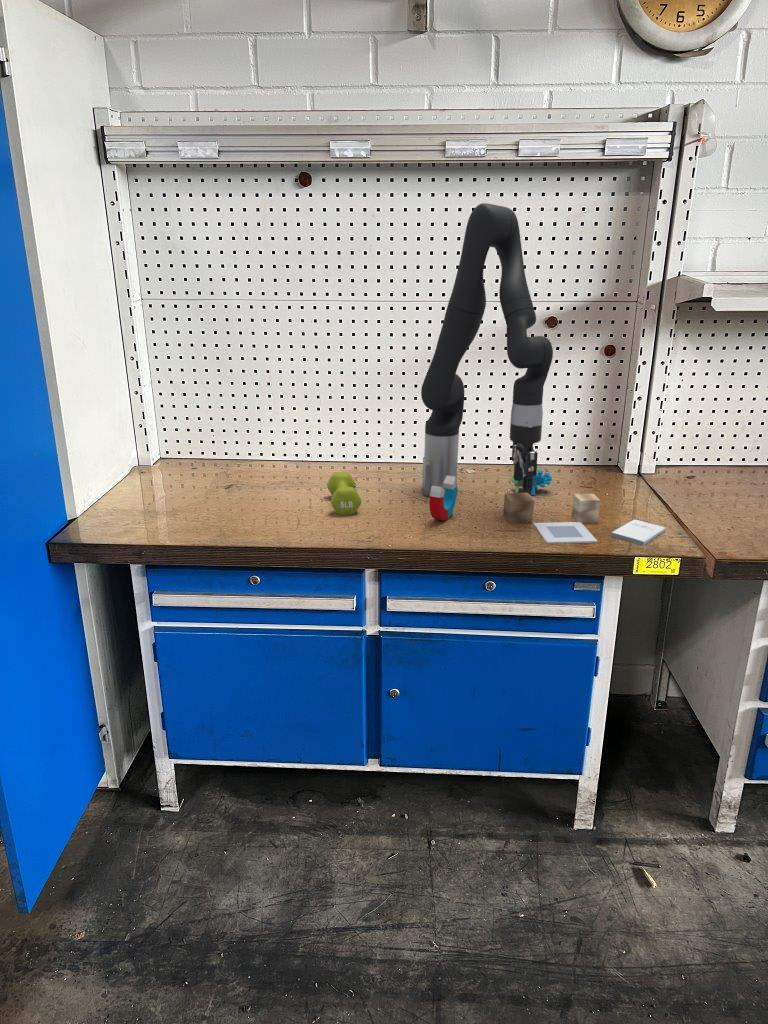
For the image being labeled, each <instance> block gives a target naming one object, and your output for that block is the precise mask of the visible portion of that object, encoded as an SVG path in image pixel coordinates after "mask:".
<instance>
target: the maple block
mask: <svg viewBox="0 0 768 1024" xmlns="http://www.w3.org/2000/svg"><path fill="white" fill-rule="evenodd" d="M600 504H601V500H600V499H599V498H598V497H597V496H596V495H595V494H594V493H574V494H573V501H572V510H571V517H572V518H573V519H574V521H575V522H581V523H582V524H589V523H591V524H596V523H598V521H599V515H600V513H599V512H600V507H601V506H600Z"/></svg>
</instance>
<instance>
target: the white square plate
mask: <svg viewBox="0 0 768 1024" xmlns="http://www.w3.org/2000/svg"><path fill="white" fill-rule="evenodd" d="M532 525H533V526H534V528H535V529H536V530H537V532H538V534H540V536H541V537H542V539H543V540H544V542H545V543H546V544H547V545H549V544H590V543H591V544H593V543H595V544H597V543H598V541H599V540H597V539H596V537H594V535H593V534H592V533H591V532H590V530H588V528H587V527H586V526H585V525H584V523H581V522H577V521H569V522H567V521H565V522H564V521H563V522H561V521H559V522H555V521H554V522H532Z"/></svg>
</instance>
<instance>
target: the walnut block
mask: <svg viewBox="0 0 768 1024" xmlns="http://www.w3.org/2000/svg"><path fill="white" fill-rule="evenodd" d="M503 497H504V498H503V499H504V500H503V511H502V515H503V517H504V519H505V520H506V522H507V523H508V524H533V519H534V508H535V500H534V499H533V497H532V495H531V494H530V493H528V492H518V493H516V492H505V493H504V496H503Z"/></svg>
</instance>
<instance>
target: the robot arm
mask: <svg viewBox="0 0 768 1024" xmlns="http://www.w3.org/2000/svg"><path fill="white" fill-rule="evenodd" d="M520 232H521V231H520V225H519V221H518V217H517V214H516V213H515V212H514V211H513V210H512V208H510V207H506V206H503V205H498V204H494V203H493V204H492V203H487V202H483V203H480V204H478V205H476V206H475V207H474V209H472V211H471V213H470V215H469V218H468V220H467V224H466V228H465V232H464V236H463V237H464V238H463V243H462V249H461V253H460V254H461V255H460V258H459V259H460V260H459V263H458V267H457V272H456V276H455V279H454V283H453V287H452V292H451V293H450V297H449V300H448V303H447V307H446V311H445V314H444V318H443V323H442V325H441V329H440V333H439V335H438V340H437V344H436V346H435V350H434V354H433V357H432V359H431V362H430V364H429V367H428V369H427V372H426V374H425V377H424V379H423V382H422V385H421V389H420V390H421V391H420V396H421V400H422V403H423V405H424V406H425V407H426V408H427V409H428V410H431V415H430V416H429V418H427V420H426V422H425V426H424V450H423V452H424V453H423V457H422V482H421V483H422V484H421V485H422V486H421V487H422V493H423V494H424V497H425V496H426V497H428V496H429V497H430V492H431V487H432V486H437V487H442V488H443V489H444V485H443V482H444V480H445V478H446V476H447V475H448V476H454V477H456V478H457V479H458V461H459V457H458V456H459V439H460V438H459V437H460V434H459V433H460V427H461V424H462V421H463V419H464V415H463V414H464V404H465V386H464V382H463V380H462V378H461V377H460V375H458V373H457V370H458V368H459V366H460V362H461V361H462V359H463V357H464V355H465V354H466V352H467V351H468V349H469V348H470V346H471V344H472V343H473V341H474V339H475V338H476V336H477V334H478V332H479V330H480V327H481V323H482V321H483V317H484V314H485V311H486V306H487V295H486V288H485V280H484V269H485V263H486V260H487V255H488V253H489V251H490V248H494V249H495V252H496V254H497V256H498V258H499V261H500V266H501V268H500V269H501V274H500V275H501V277H500V284H499V289H498V294H499V295H498V296H499V303H500V308H501V311H502V313H503V318H504V321H505V324H506V354H507V358H508V360H509V362H510V364H511V365H512V366H513V367H514V368H516V369H519V370H520V369H526V370H525V374H524V375H522V376H521V377H518V378H517V379H515V380H514V383H513V387H512V388H513V390H512V405H511V410H510V423H509V425H510V426H509V440H510V441H511V442H512V450H511V462H512V465H513V477H514V480H515V481H521V480H522V479H523V486H522V488H521V489H522V491H523V492H531V490H532V481H533V476H536V475H537V474H538V455H539V453H538V451H536V450H535V449H534V444H538V443H539V442H541V440H542V428H543V418H544V417H543V414H544V411H543V409H544V408H543V397H544V387H545V383H546V381H547V377H548V374H549V371H550V369H551V365H552V362H553V357H554V351H553V345H552V343H551V341H550V339H549V338H548V337H546V336H544V335H543V336H542V335H535V336H528V334H527V331H528V329H530V328H532V327H533V326H534V325H535V324H536V322H537V315H536V311H535V307H534V303H533V301H532V296H531V293H530V291H529V286H528V282H527V277H526V271H525V265H524V256H523V249H522V241H521V233H520ZM529 470H531V471H529Z"/></svg>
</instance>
